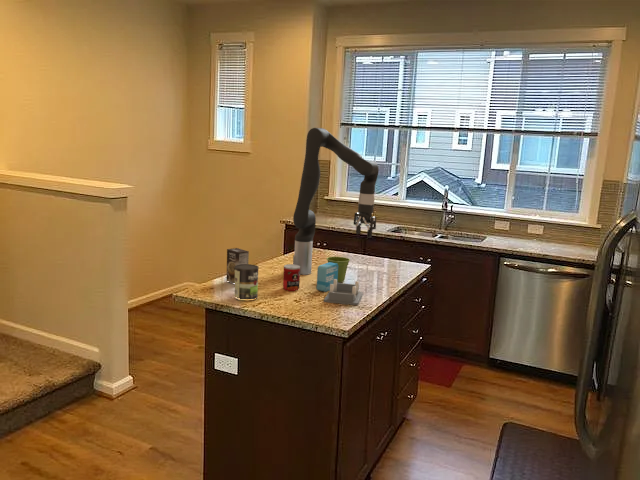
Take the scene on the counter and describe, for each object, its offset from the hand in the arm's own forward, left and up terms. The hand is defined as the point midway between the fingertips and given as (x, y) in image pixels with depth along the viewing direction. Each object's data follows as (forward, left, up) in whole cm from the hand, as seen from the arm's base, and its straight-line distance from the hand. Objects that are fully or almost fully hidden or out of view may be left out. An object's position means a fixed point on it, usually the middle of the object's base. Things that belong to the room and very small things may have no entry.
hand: (363, 235), depth 270 cm
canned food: (-30, -21, -25) cm, 44 cm away
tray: (-4, -27, -24) cm, 36 cm away
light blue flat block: (-14, -15, -25) cm, 32 cm away
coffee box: (-57, -20, -25) cm, 65 cm away
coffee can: (-45, -42, -25) cm, 66 cm away
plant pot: (-12, +2, -25) cm, 27 cm away
